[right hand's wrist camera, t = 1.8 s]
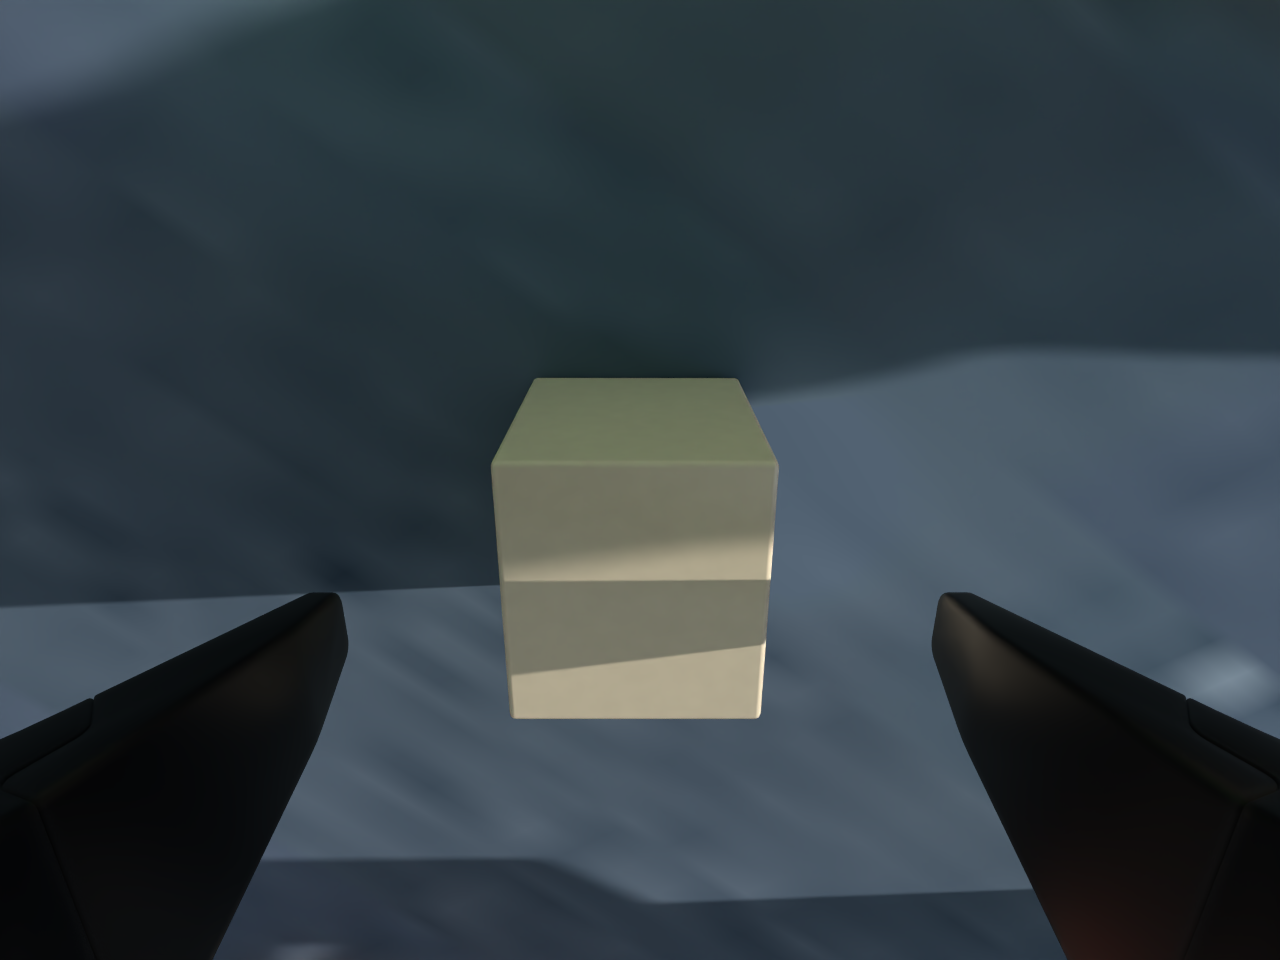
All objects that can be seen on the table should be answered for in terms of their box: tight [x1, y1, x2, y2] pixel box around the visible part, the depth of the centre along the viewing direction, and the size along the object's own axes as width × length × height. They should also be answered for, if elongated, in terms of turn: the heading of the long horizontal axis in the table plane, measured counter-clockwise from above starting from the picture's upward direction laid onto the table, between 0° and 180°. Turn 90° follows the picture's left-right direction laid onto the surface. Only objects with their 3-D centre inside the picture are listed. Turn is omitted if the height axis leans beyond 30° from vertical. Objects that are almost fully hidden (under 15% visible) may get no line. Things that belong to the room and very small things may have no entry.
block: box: [491, 378, 779, 719], centre depth 14 cm, size 4×5×5 cm
